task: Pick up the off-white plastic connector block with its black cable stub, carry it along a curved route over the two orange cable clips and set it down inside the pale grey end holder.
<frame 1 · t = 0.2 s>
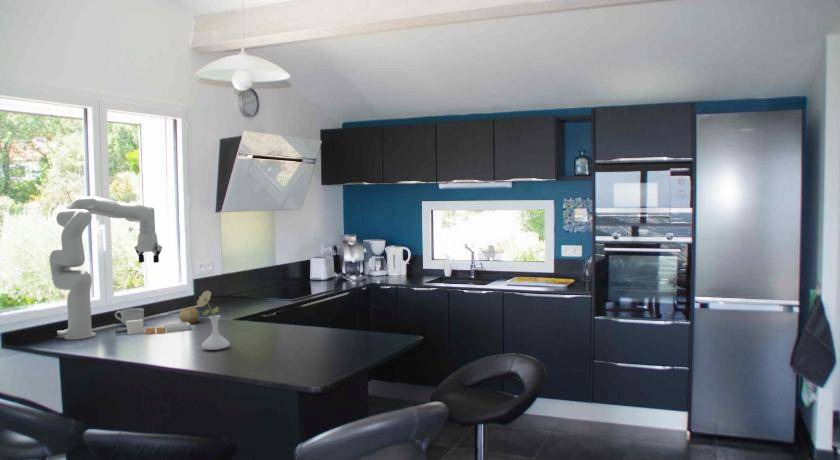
hand: (148, 262, 333), 31 cm above the countertop, tool pointing down, fingers open, 9 cm apart
holder: (177, 329, 305), on the countertop
bread roll: (189, 323, 324), on the countertop
clip 2: (161, 332, 298), on the countertop
clip 1: (150, 333, 298), on the countertop
teacup: (130, 325, 321), on the countertop
connector: (135, 333, 300), on the countertop
flower in vase: (214, 349, 260), on the countertop
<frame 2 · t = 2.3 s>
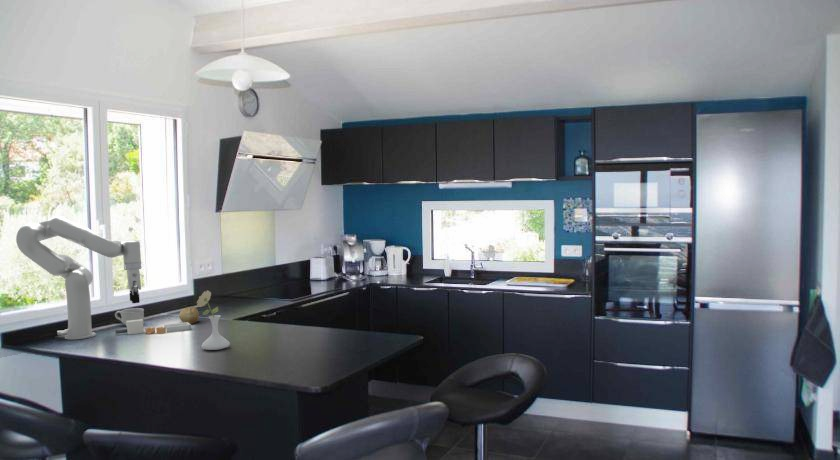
hand: (134, 301, 299), 15 cm above the countertop, tool pointing down, fingers open, 9 cm apart
nothing on the countertop moved.
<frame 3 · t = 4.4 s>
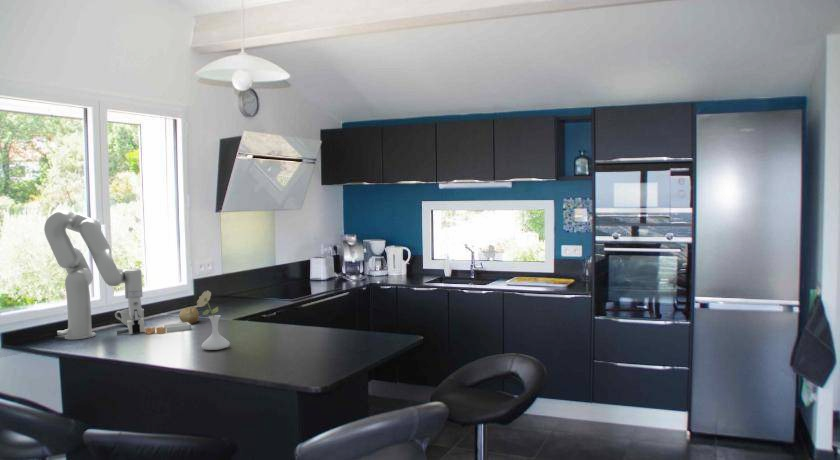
hand: (135, 331, 300), 0 cm above the countertop, tool pointing down, fingers closed on connector, 4 cm apart
connector: (136, 332, 300), on the countertop, touching gripper
everything else where it was.
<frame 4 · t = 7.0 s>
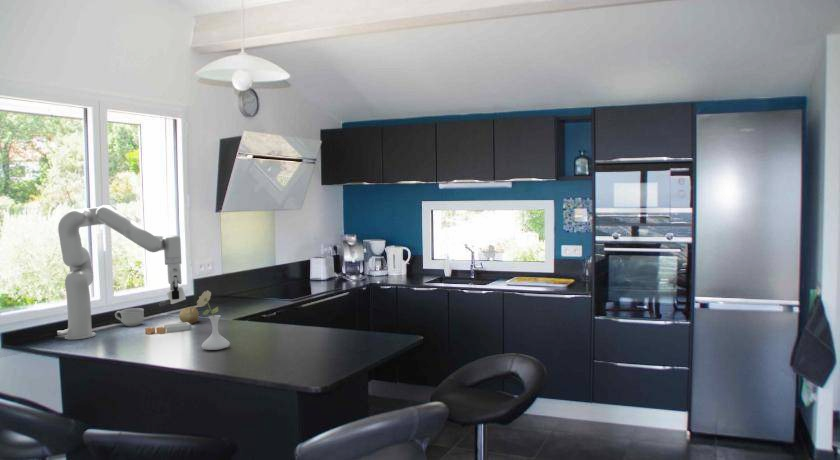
hand: (174, 298, 304), 16 cm above the countertop, tool pointing down, fingers closed on connector, 3 cm apart
connector: (178, 301, 304), point 14 cm above the countertop, tilted 16°, touching gripper
everything else where it was.
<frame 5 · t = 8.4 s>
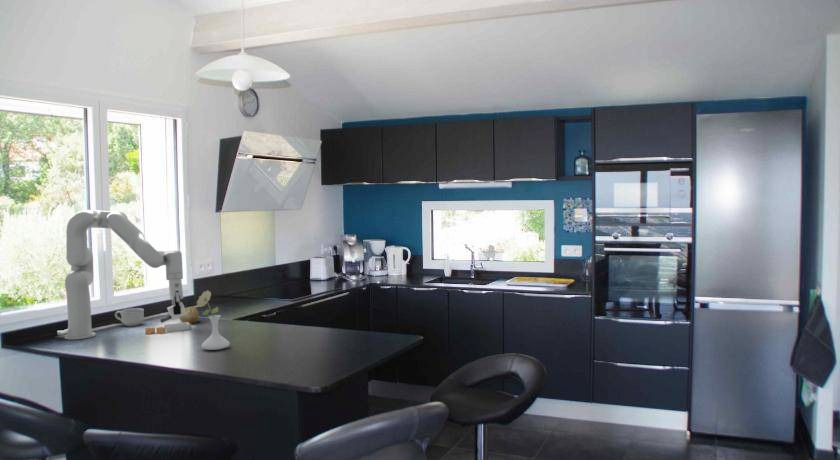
hand: (176, 313, 304), 8 cm above the countertop, tool pointing down, fingers closed on connector, 3 cm apart
connector: (179, 316, 305), point 6 cm above the countertop, tilted 19°, touching gripper
everything else where it was.
when the fingers open (3 cm above the countertop, at t = 9.7 s): connector stays where it is, resting on holder.
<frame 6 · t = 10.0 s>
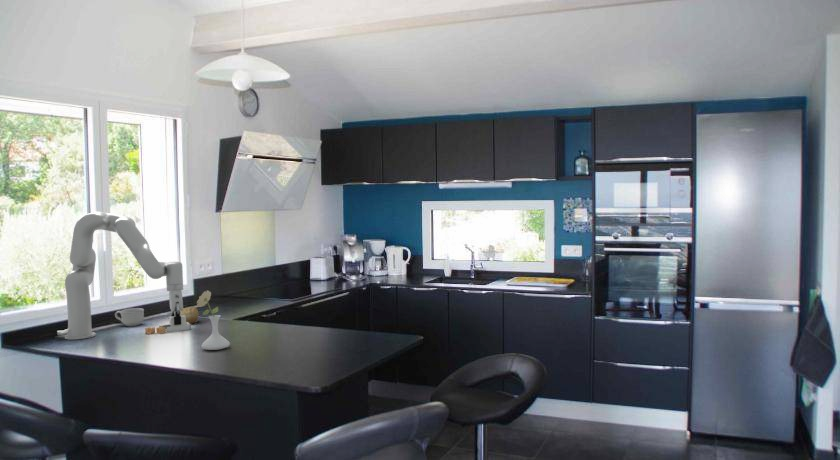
hand: (176, 323, 304), 3 cm above the countertop, tool pointing down, fingers open, 7 cm apart
connector: (178, 328, 305), resting on holder
everything else where it was.
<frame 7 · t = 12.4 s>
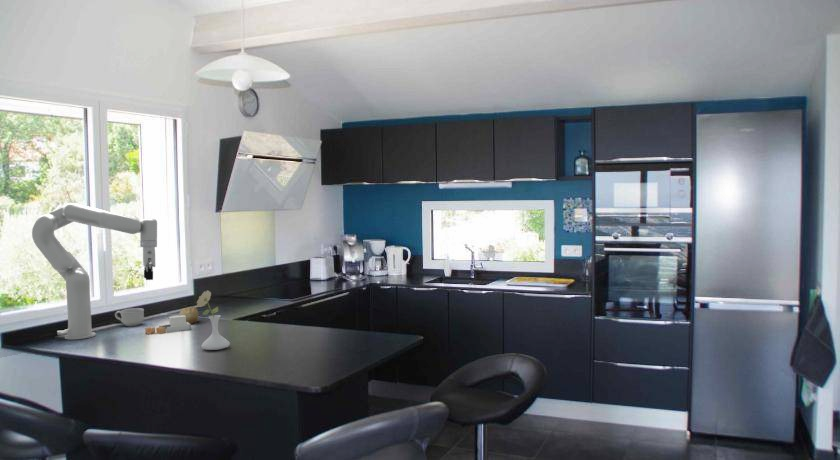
hand: (148, 278, 306), 25 cm above the countertop, tool pointing down, fingers open, 9 cm apart
nothing on the countertop moved.
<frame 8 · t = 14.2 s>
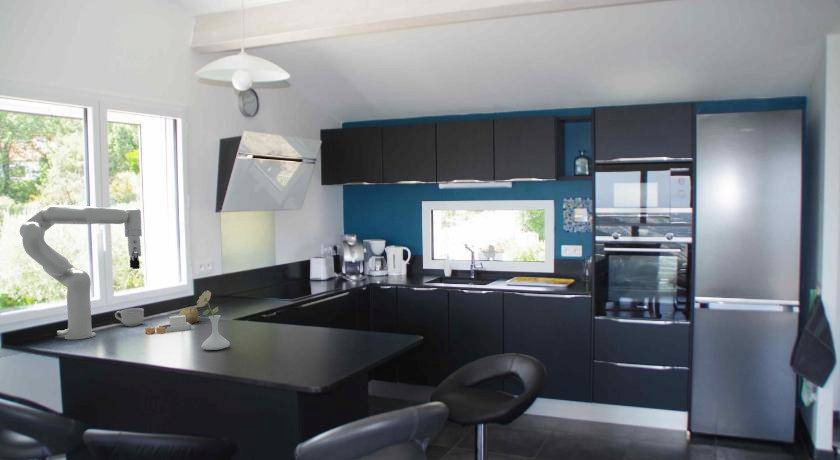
hand: (134, 268, 308), 30 cm above the countertop, tool pointing down, fingers open, 9 cm apart
nothing on the countertop moved.
at the end: connector 0.7 cm off-centre on the holder, point 0.5 cm above the holder's base; connector tilted 0°; the gripper is holding nothing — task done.
